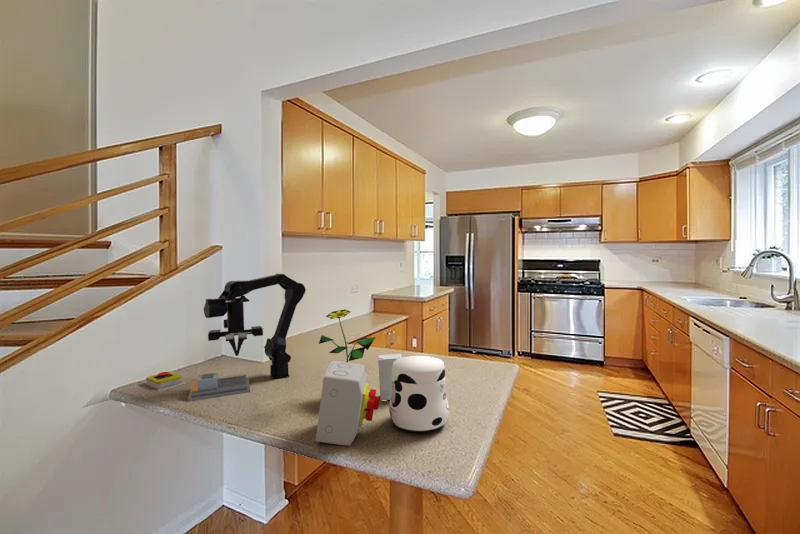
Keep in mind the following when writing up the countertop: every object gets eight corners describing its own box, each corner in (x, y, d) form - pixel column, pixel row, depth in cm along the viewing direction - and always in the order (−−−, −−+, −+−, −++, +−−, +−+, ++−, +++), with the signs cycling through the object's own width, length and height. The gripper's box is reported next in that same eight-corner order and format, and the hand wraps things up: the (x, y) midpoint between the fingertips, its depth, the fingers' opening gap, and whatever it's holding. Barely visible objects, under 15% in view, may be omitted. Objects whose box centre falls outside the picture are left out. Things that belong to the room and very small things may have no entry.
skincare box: (403, 394, 134) (402, 353, 133) (404, 401, 128) (403, 357, 127) (379, 395, 134) (378, 353, 133) (379, 402, 127) (378, 358, 127)
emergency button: (168, 367, 157) (186, 373, 149) (168, 377, 158) (186, 384, 149) (143, 373, 150) (160, 380, 141) (143, 384, 150) (160, 392, 141)
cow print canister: (460, 422, 112) (459, 361, 111) (424, 444, 99) (423, 376, 98) (415, 406, 124) (414, 351, 123) (377, 425, 111) (376, 364, 110)
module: (217, 386, 143) (217, 372, 142) (217, 391, 137) (216, 376, 137) (199, 388, 140) (199, 374, 140) (198, 394, 135) (197, 379, 134)
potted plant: (315, 395, 134) (313, 311, 133) (365, 387, 141) (364, 307, 140) (326, 415, 118) (323, 319, 116) (382, 405, 125) (381, 314, 124)
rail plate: (248, 380, 151) (248, 370, 151) (250, 391, 139) (249, 380, 139) (191, 388, 143) (191, 378, 143) (187, 401, 131) (187, 389, 131)
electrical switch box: (371, 454, 99) (381, 379, 98) (314, 446, 99) (324, 371, 98) (375, 428, 113) (384, 362, 113) (326, 421, 114) (334, 355, 113)
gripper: (260, 309, 154) (261, 347, 155) (209, 313, 147) (210, 353, 147) (262, 313, 144) (263, 354, 145) (207, 318, 136) (208, 361, 137)
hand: (236, 355), depth 144 cm, fingers closed
